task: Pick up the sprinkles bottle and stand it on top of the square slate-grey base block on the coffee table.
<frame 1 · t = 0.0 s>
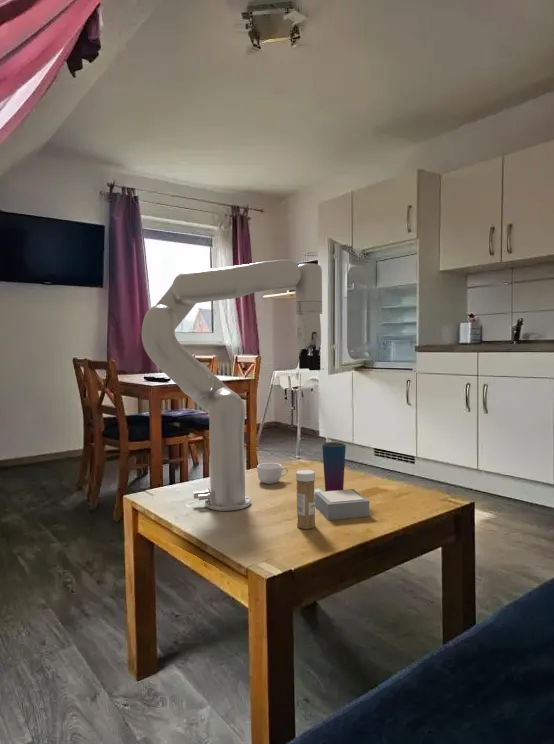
hand: (309, 369, 145), 37 cm above the table, tool pointing down, fingers open, 9 cm apart
sprinkles bottle: (306, 527, 124), on the table
teacup: (272, 482, 165), on the table
cup: (334, 495, 149), on the table
base: (341, 511, 135), on the table
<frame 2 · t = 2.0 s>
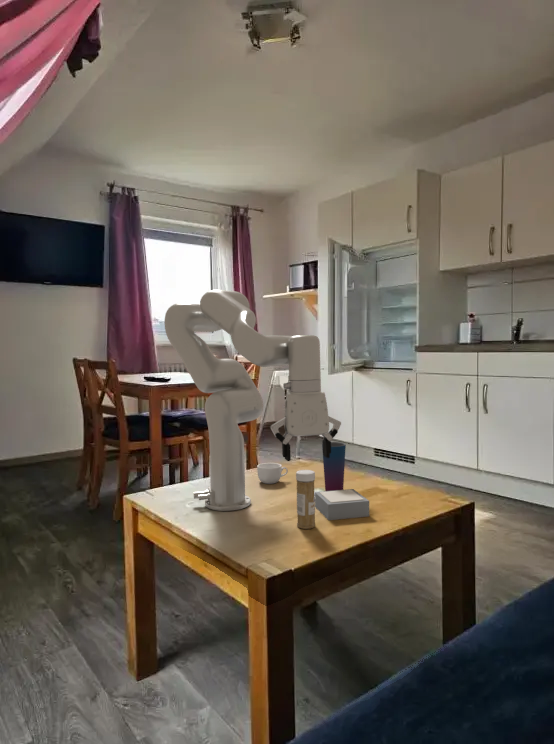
hand: (307, 458, 123), 17 cm above the table, tool pointing down, fingers open, 9 cm apart
nothing on the table moved.
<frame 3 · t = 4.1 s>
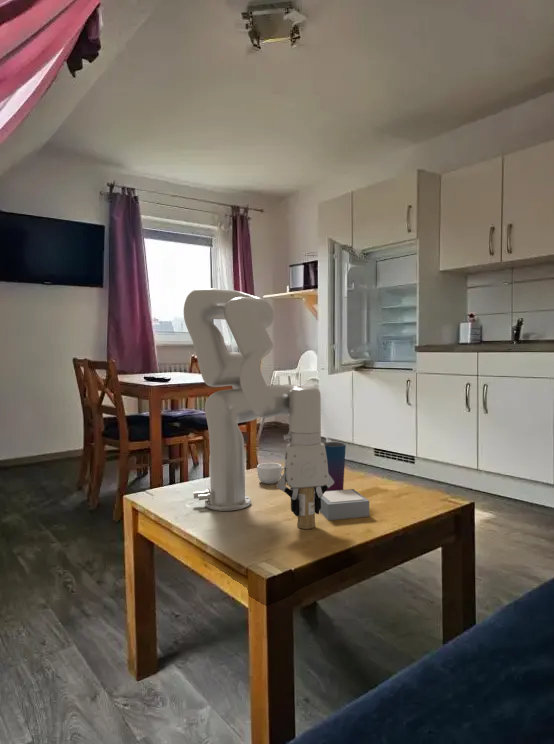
hand: (306, 512, 124), 3 cm above the table, tool pointing down, fingers closed on sprinkles bottle, 4 cm apart
sprinkles bottle: (306, 527, 124), on the table, touching gripper
everything else where it was.
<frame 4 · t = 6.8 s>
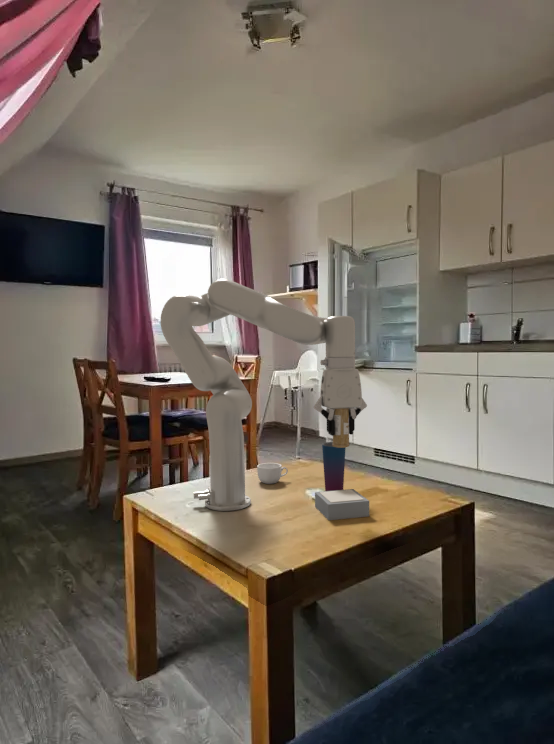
hand: (340, 433, 134), 21 cm above the table, tool pointing down, fingers closed on sprinkles bottle, 4 cm apart
sprinkles bottle: (340, 447, 134), point 17 cm above the table, touching gripper
everything else where it was.
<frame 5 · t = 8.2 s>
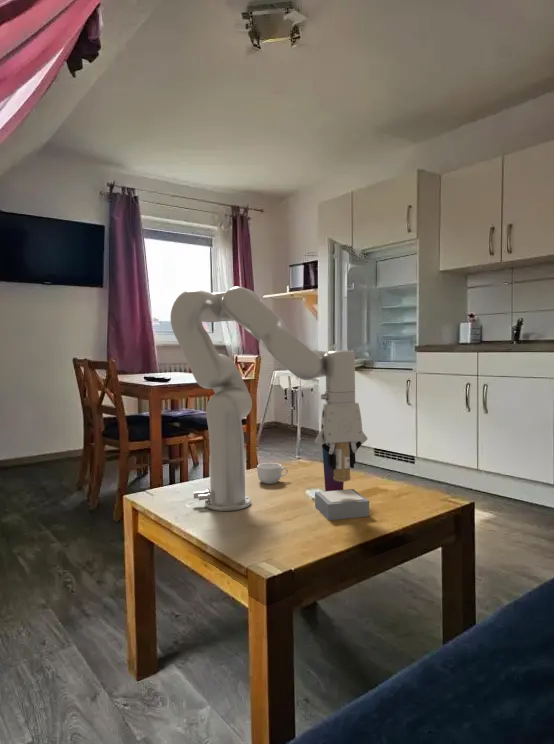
hand: (341, 466, 134), 12 cm above the table, tool pointing down, fingers closed on sprinkles bottle, 4 cm apart
sprinkles bottle: (341, 480, 134), point 8 cm above the table, touching gripper
everything else where it was.
when the fingers open (9 cm above the table, at t = 9.6 s): sprinkles bottle drops 1 cm, resting on base.
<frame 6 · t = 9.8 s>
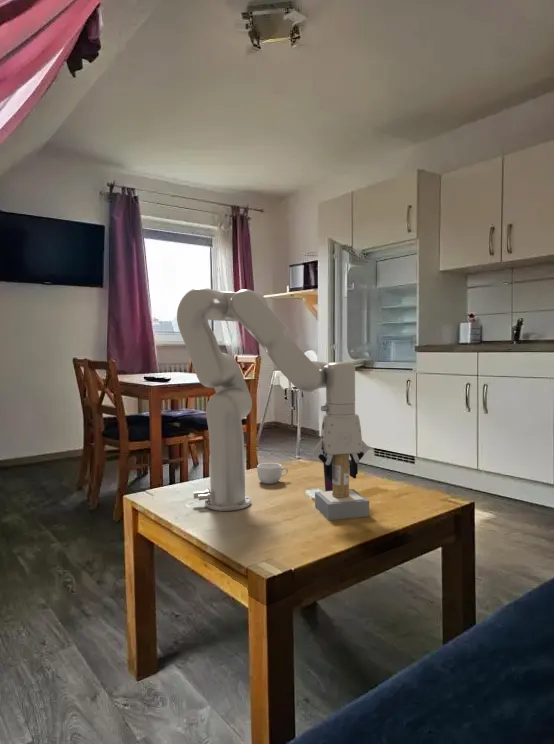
hand: (341, 477, 134), 9 cm above the table, tool pointing down, fingers open, 6 cm apart
sprinkles bottle: (340, 496, 135), point 4 cm above the table, touching base
everything else where it was.
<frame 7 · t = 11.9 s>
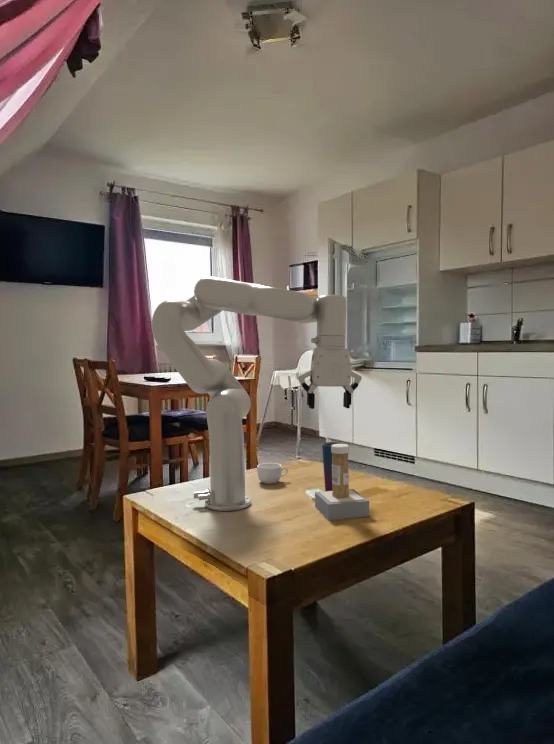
hand: (329, 407, 135), 27 cm above the table, tool pointing down, fingers open, 9 cm apart
nothing on the table moved.
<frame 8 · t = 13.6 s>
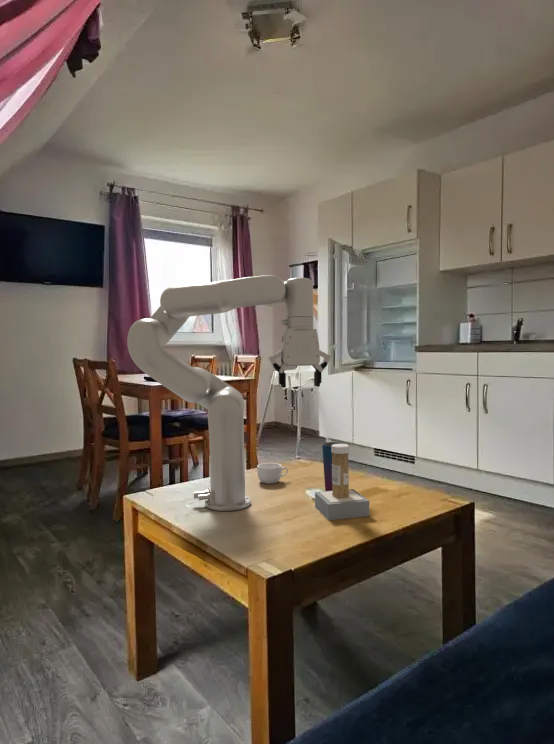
hand: (300, 386, 141), 32 cm above the table, tool pointing down, fingers open, 9 cm apart
nothing on the table moved.
at the end: sprinkles bottle inside the target area on the base (0.2 cm from its centre), point 4.0 cm above the base's base; sprinkles bottle tilted 0°; the gripper is holding nothing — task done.
